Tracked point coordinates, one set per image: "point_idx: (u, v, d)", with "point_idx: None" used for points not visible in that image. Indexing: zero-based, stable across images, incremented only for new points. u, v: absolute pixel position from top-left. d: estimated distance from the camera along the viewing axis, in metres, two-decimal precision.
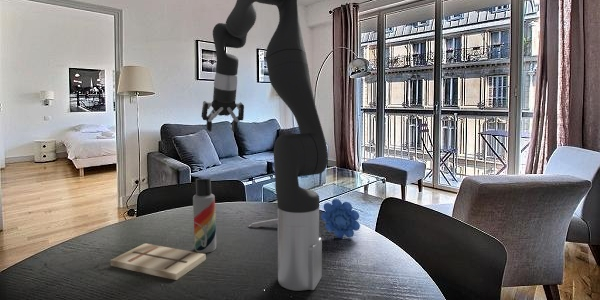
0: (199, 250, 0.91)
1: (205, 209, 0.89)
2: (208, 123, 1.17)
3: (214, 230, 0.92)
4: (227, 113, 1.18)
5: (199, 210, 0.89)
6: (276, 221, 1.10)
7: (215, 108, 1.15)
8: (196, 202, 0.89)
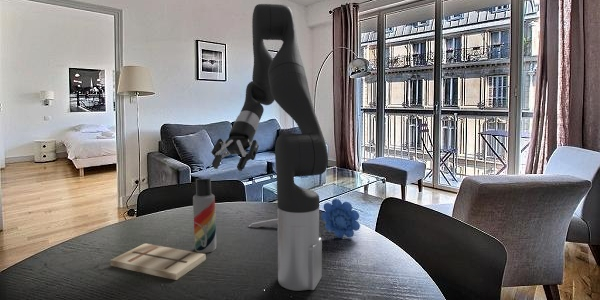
0: (199, 250, 0.91)
1: (205, 209, 0.89)
2: (215, 158, 1.05)
3: (214, 230, 0.92)
4: (236, 148, 1.04)
5: (199, 210, 0.89)
6: (276, 221, 1.10)
7: (227, 143, 1.07)
8: (196, 202, 0.89)
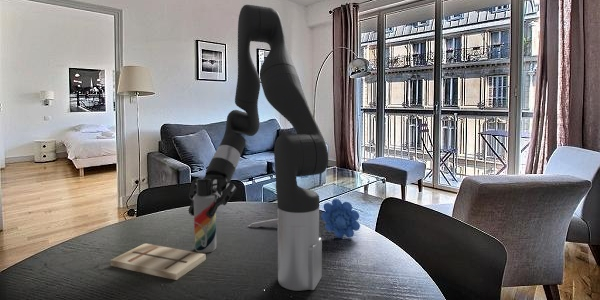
0: (199, 250, 0.91)
1: (206, 209, 0.89)
2: (192, 203, 0.93)
3: (214, 230, 0.92)
4: None
5: (200, 210, 0.89)
6: (276, 221, 1.10)
7: None
8: (197, 202, 0.89)
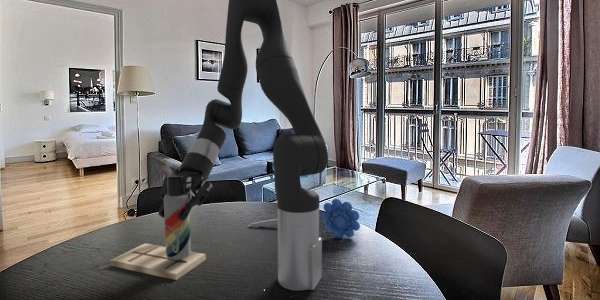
0: (170, 256, 0.81)
1: (177, 211, 0.79)
2: (163, 203, 0.83)
3: (187, 234, 0.82)
4: (185, 187, 0.84)
5: (170, 212, 0.79)
6: (275, 221, 1.10)
7: None
8: (167, 202, 0.79)
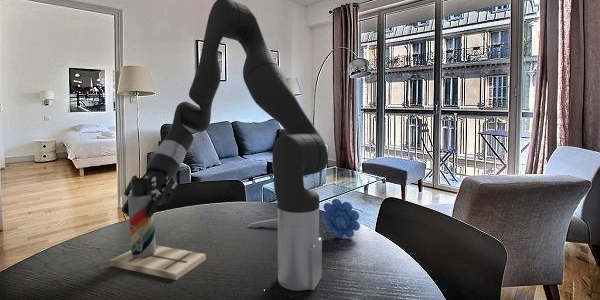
0: (135, 255, 0.84)
1: (140, 210, 0.83)
2: (127, 200, 0.87)
3: (151, 233, 0.85)
4: (150, 186, 0.87)
5: (134, 211, 0.83)
6: (275, 221, 1.10)
7: None
8: (131, 203, 0.83)
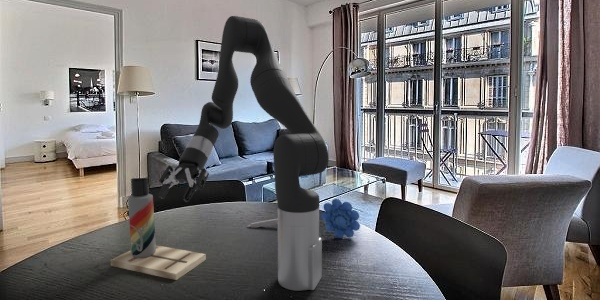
0: (135, 255, 0.84)
1: (140, 210, 0.83)
2: (162, 187, 0.99)
3: (151, 233, 0.85)
4: (185, 176, 0.99)
5: (133, 212, 0.83)
6: (275, 221, 1.10)
7: None
8: (131, 203, 0.83)
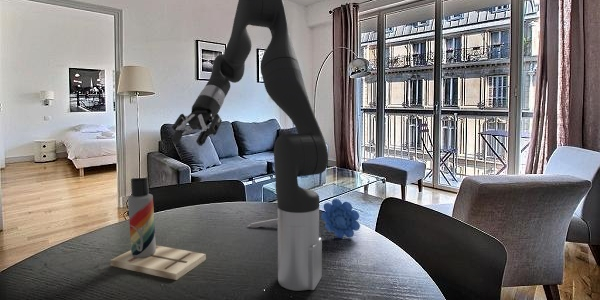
0: (135, 255, 0.84)
1: (140, 211, 0.83)
2: (175, 133, 0.99)
3: (151, 233, 0.85)
4: (198, 122, 0.99)
5: (133, 212, 0.83)
6: (275, 221, 1.10)
7: None
8: (131, 203, 0.83)
